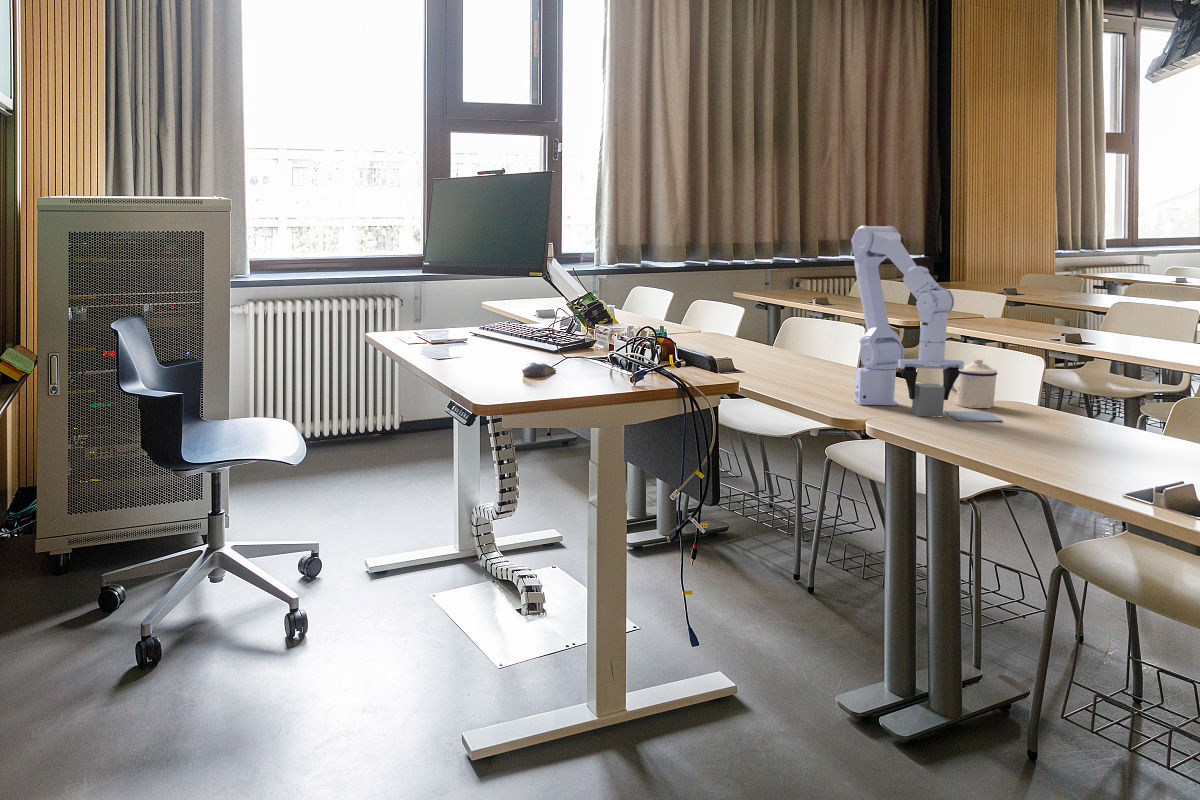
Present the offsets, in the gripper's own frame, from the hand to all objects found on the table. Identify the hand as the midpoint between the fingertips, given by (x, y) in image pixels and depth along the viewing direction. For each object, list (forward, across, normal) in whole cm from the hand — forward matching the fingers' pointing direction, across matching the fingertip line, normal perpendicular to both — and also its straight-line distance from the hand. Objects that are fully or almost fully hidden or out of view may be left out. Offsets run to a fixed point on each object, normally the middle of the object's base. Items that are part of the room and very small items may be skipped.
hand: (928, 399), depth 221 cm
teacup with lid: (+4, +14, +14) cm, 20 cm away
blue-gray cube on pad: (+4, 0, 0) cm, 4 cm away
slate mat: (+4, +10, -2) cm, 11 cm away
